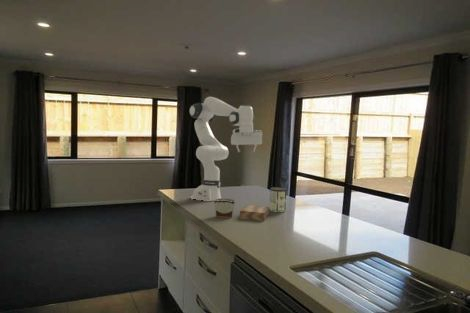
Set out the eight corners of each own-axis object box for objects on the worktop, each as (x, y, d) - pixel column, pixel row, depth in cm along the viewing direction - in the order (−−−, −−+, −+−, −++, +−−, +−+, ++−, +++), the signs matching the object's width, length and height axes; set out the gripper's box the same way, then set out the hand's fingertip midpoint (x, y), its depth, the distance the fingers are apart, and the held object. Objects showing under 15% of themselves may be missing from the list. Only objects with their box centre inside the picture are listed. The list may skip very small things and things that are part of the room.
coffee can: (275, 207, 228) (276, 186, 227) (288, 210, 221) (289, 188, 220) (266, 210, 220) (267, 188, 219) (279, 213, 213) (280, 190, 212)
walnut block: (239, 219, 197) (240, 210, 196) (246, 213, 212) (246, 205, 212) (264, 221, 193) (264, 212, 193) (268, 215, 209) (269, 207, 208)
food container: (235, 215, 204) (236, 198, 204) (234, 217, 198) (235, 200, 197) (215, 214, 205) (215, 197, 205) (213, 216, 199) (213, 199, 199)
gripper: (262, 130, 223) (262, 151, 224) (230, 130, 223) (230, 151, 224) (262, 129, 217) (263, 151, 217) (230, 130, 217) (230, 152, 218)
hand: (246, 151), depth 221 cm, fingers open, 8 cm apart
